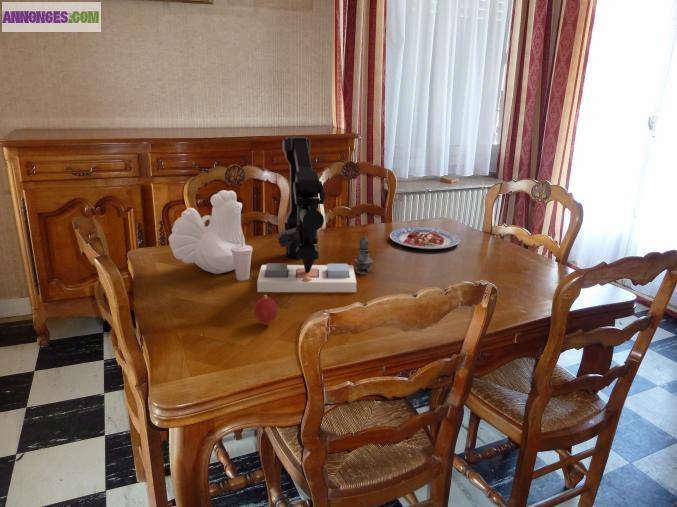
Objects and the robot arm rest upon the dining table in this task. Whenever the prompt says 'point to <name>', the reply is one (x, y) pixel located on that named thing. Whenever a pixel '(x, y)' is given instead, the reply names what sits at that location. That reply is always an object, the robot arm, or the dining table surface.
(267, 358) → the dining table surface
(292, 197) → the robot arm
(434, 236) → the ceramic plate
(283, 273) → the charcoal key
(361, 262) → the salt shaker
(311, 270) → the terracotta key
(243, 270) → the smoothie
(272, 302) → the onion
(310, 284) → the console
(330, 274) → the blue key
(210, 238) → the decorative rooster
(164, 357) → the dining table surface
